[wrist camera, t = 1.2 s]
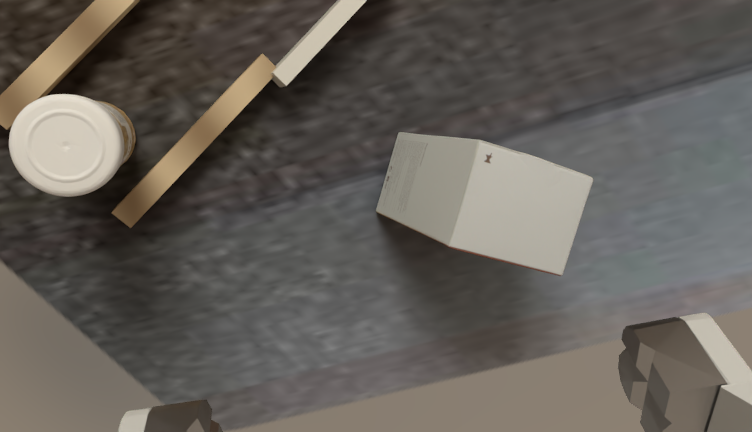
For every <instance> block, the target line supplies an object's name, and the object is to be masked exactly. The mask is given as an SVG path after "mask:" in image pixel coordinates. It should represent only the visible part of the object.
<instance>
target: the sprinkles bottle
mask: <svg viewBox="0 0 752 432" xmlns="http://www.w3.org/2000/svg"><path fill="white" fill-rule="evenodd" d="M135 141H136V136H135V130H134V127H133V125H132V123H131V121H130V119H129V118H128V117H127V116H126V114H125V113H124V112H123V111H122V110H120V109H119V108H117V107H116V106H114V105H112V104H110V103H107V102H101V101H94V100H91V99H89V98H86V97H83V96H79V95H71V94H55V95H49V96H45V97H42V98H39V99H37V100H35V101H33V102H32V103H30V104H28V105H27V106H26V107H25V108H24V109H23V110H22V111H21V112H20V113H19V114H18V116H17V117H16V119H15V120H14V122H13V124H12V127H11V130H10V135H9V150H10V155H11V158H12V161H13V163H14V165H15V167H16V169H17V170H18V172H19V173H20V174H21V175H22V177H23V178H24V179H25V180H26V181H28V182H29V183H30V184H31V185H33V186H34V187H36V188H38V189H40V190H42V191H44V192H46V193H49V194H53V195H58V196H66V197H71V196H79V195H84V194H88V193H90V192H92V191H95V190H97V189H98V188H100V187H102V186H103V185H104V184H106V183H107V182H108V181H109V180H110V179H111V178H112V177H113V176H114V174H115V173H116V172H117V170H118V168H119V167H120V166H121V165H122V164H123V163H125V162H126V161H127V160H128V159H129V157H130V156H131V154H132V152H133V149H134V146H135Z"/></svg>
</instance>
